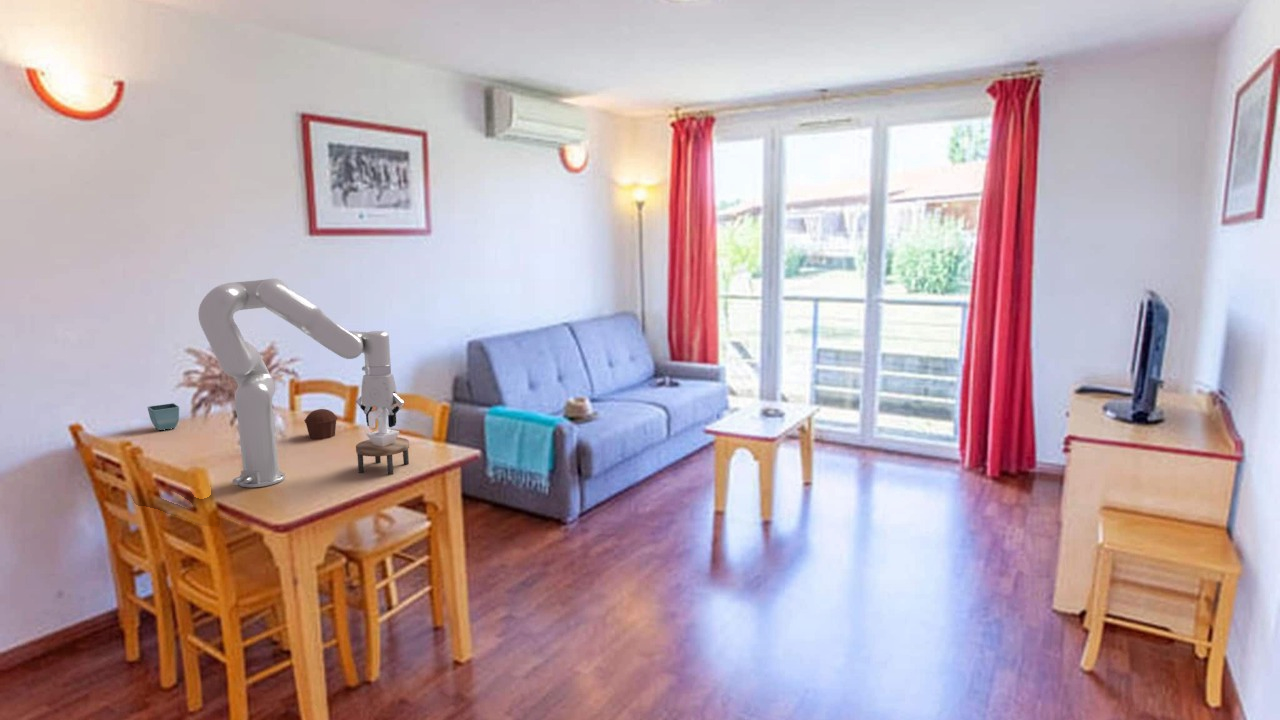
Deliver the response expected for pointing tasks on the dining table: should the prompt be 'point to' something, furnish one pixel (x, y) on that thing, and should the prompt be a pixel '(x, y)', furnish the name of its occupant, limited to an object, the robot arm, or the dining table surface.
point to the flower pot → (164, 416)
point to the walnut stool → (382, 452)
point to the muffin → (321, 424)
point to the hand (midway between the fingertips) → (381, 425)
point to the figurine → (381, 428)
